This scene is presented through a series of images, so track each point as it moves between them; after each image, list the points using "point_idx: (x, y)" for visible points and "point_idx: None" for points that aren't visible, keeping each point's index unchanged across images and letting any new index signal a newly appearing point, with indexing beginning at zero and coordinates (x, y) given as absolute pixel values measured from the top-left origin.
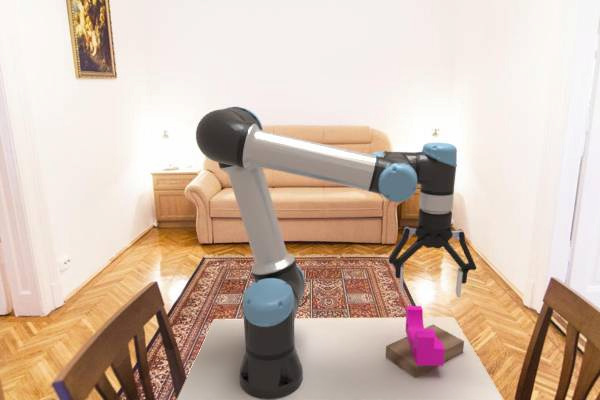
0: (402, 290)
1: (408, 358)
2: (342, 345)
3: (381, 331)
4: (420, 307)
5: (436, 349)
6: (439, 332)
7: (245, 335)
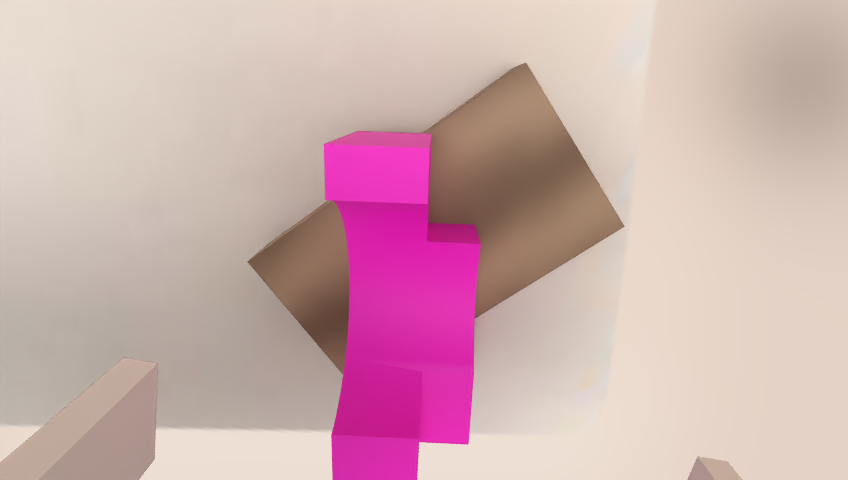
0: (144, 470)
1: (334, 347)
2: (80, 153)
3: (263, 27)
4: (420, 170)
5: (431, 441)
6: (532, 149)
7: None
